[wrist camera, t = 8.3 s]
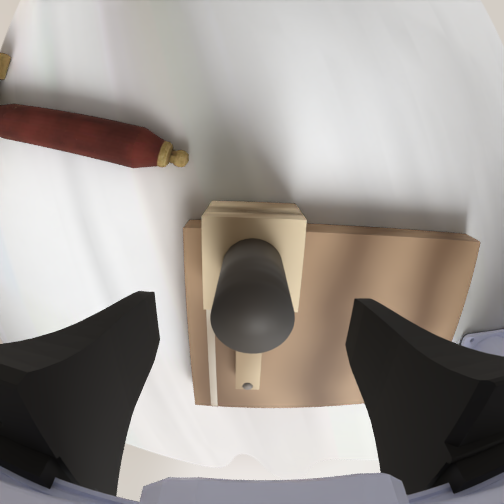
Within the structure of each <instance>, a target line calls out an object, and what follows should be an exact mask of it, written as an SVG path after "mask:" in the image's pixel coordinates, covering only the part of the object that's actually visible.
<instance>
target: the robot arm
mask: <svg viewBox="0 0 504 504" xmlns="http://www.w3.org/2000/svg"><path fill="white" fill-rule="evenodd" d="M159 341H160V336H159V328H158V320H157V312H156V303H155V293H154V292H144V291H138V292H135V293H133V294H131V295H129V296H127V297H125V298H124V299H122V300H120V301H118V302H116V303H115V304H113V305H111V306H109V307H107V308H106V309H104V310H102V311H100V312H98V313H96V314H94V315H92V316H90V317H88V318H86V319H84V320H83V321H80V322H78V323H76V324H74V325H71V326H69V327H66V328H64V329H61V330H59V331H56V332H53V333H49V334H46V335H42V336H39V337H35V338H32V339H27V340H23V341H18V342H12V343H5V344H0V504H504V329H501V330H494V331H488V332H481V333H474V334H467V335H466V336H465V337H464V338H463V340H462V343H461V345H459V344H456V343H453V342H451V341H449V340H446V339H444V338H442V337H439V336H437V335H435V334H433V333H431V332H429V331H427V330H425V329H423V328H421V327H420V326H418V325H416V324H414V323H412V322H411V321H409V320H407V319H406V318H404V317H402V316H401V315H399V314H397V313H396V312H394V311H392V310H391V309H389V308H387V307H386V306H384V305H382V304H381V303H379V302H377V301H375V300H373V299H370V298H355V299H354V304H353V309H352V314H351V319H350V324H349V329H348V334H347V338H346V343H345V346H346V351H347V356H348V360H349V364H350V367H351V370H352V373H353V375H354V378H355V380H356V383H357V385H358V388H359V390H360V393H361V395H362V398H363V400H364V403H365V406H366V408H367V411H368V414H369V417H370V420H371V424H372V428H373V432H374V437H375V441H376V447H377V452H378V458H379V463H380V471H381V473H366V474H351V475H343V476H335V477H325V478H313V479H298V480H265V481H264V480H258V481H257V480H256V481H255V480H228V479H212V478H200V477H197V478H196V477H194V478H175V477H172V478H171V477H168V478H166V479H163V480H160V481H157V482H155V483H152V484H149V485H146V486H144V487H143V490H142V494H141V498H140V502H137V501H133V500H129V499H124V498H120V497H116V493H117V485H118V478H119V471H120V466H121V460H122V454H123V450H124V445H125V441H126V436H127V432H128V428H129V425H130V421H131V417H132V414H133V411H134V408H135V405H136V403H137V401H138V398H139V396H140V393H141V391H142V389H143V386H144V384H145V382H146V379H147V377H148V375H149V372H150V370H151V368H152V365H153V363H154V360H155V357H156V353H157V349H158V345H159Z"/></svg>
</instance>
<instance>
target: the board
mask: <svg viewBox="0 0 504 504" xmlns="http://www.w3.org/2000/svg"><path fill="white" fill-rule="evenodd" d="M183 243H184V268H185V288H186V305H187V320H188V333H189V346H190V357H191V368H192V378H193V388H194V397H195V405H207V406H215V407H218V406H223V407H247V408H298V407H322V406H338V405H351V404H362V403H364V400H363V398H362V395H361V393H360V390H359V388H358V385H357V383H356V380H355V378H354V375H353V373H352V370H351V367H350V364H349V360H348V356H347V351H346V346H345V343H346V338H347V334H348V329H349V324H350V319H351V314H352V309H353V304H354V299H355V298H370V299H373V300H375V301H377V302H379V303H381V304H382V305H384V306H386V307H387V308H389V309H391V310H392V311H394V312H396V313H397V314H399V315H401V316H402V317H404V318H406V319H407V320H409V321H411V322H412V323H414V324H416V325H418V326H420V327H421V328H423V329H425V330H427V331H429V332H431V333H433V334H435V335H437V336H439V337H442V338H444V339H446V340H449V341H451V342H452V339H453V336H454V333H455V331H456V328H457V325H458V322H459V319H460V316H461V313H462V310H463V307H464V304H465V300H466V297H467V294H468V290H469V287H470V283H471V280H472V276H473V272H474V268H475V264H476V260H477V256H478V251H479V247H480V241H478V240H476V239H474V238H472V237H471V236H469V235H467V234H462V233H450V232H437V231H424V230H410V229H396V228H380V227H364V226H346V225H327V224H306V236H305V248H304V258H303V269H302V279H301V288H300V298H299V307H298V312H294V313H295V322H294V327H293V330H292V332H291V334H290V335H289V337H288V338H287V339H286V340H285V341H284V342H283V343H282V344H281V345H279V346H278V347H276V348H274V349H272V350H270V351H267V352H263V353H262V357H261V372H260V386H259V390H251V389H250V390H245V389H236V351H235V350H233V349H231V348H229V347H227V346H226V345H224V344H223V343H222V342H221V341H220V340H219V339H218V338H217V337H216V335H215V333H214V331H213V329H212V326H211V321H210V314H211V310H206V309H204V308H203V278H202V220H189V221H188V222H187V224H186V225H185V226H184V227H183Z"/></svg>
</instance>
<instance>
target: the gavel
mask: <svg viewBox="0 0 504 504" xmlns="http://www.w3.org/2000/svg"><path fill="white" fill-rule="evenodd" d="M10 60H11V57H10V56H9V55H7V54H4V53H0V80H4V79H5V76H6V73H7V69H8V66H9V63H10ZM0 137H2V138H4V139H9V140H14V141H19V142H24V143H29V144H34V145H38V146H43V147H47V148H52V149H56V150H61V151H65V152H70V153H74V154H78V155H82V156H87V157H91V158H95V159H99V160H103V161H107V162H111V163H115V164H119V165H123V166H127V167H131V168H140V167H153V166H159V167H166V166H167V165H168V164H169V162H170V163H173V164H174V165H175V166H177V167H184V166H185V165H186V164H187V163H188V161H189V154H188V153H187V152H185V151H183V150H178V151H175V150H173V145H172V144H171V143H170V142H167V141H165V140H163V139H162V138H160V137H159V136H157V135H156V134H154V133H152V132H151V131H149V130H148V129H146V128H144V127H140V126H136V125H131V124H127V123H122V122H118V121H113V120H108V119H103V118H98V117H93V116H88V115H83V114H77V113H72V112H66V111H60V110H54V109H48V108H41V107H34V106H27V105H19V104H7V105H0Z"/></svg>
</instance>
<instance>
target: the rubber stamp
mask: <svg viewBox="0 0 504 504" xmlns="http://www.w3.org/2000/svg"><path fill="white" fill-rule="evenodd" d="M306 224H307V220H306V218H305V217H304V215H303V214H302V212H301V211H300V209H299V208H298V207H297V205H296V204H292V203H270V202H242V201H212V202H211V203H210V205H209V206H208V208H207V209H206V211H205V212H204V214H203V215H202V278H203V308H204V309H206V310H211V314H210V321H211V326H212V329H213V331H214V333H215V335H216V337H217V338H218V339H219V340H220V341H221V342H222V343H223V344H224V345H226V346H227V347H229V348H231V349H233V350H235V351H236V389H245V390H250V389H251V390H259V386H260V372H261V357H262V353H263V352H267V351H270V350H272V349H274V348H276V347H278V346H279V345H281V344H282V343H283V342H284V341H285V340H286V339H287V338H288V337H289V335H290V334H291V332H292V330H293V327H294V322H295V313H294V312H298V307H299V298H300V288H301V279H302V269H303V258H304V248H305V236H306Z"/></svg>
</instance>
